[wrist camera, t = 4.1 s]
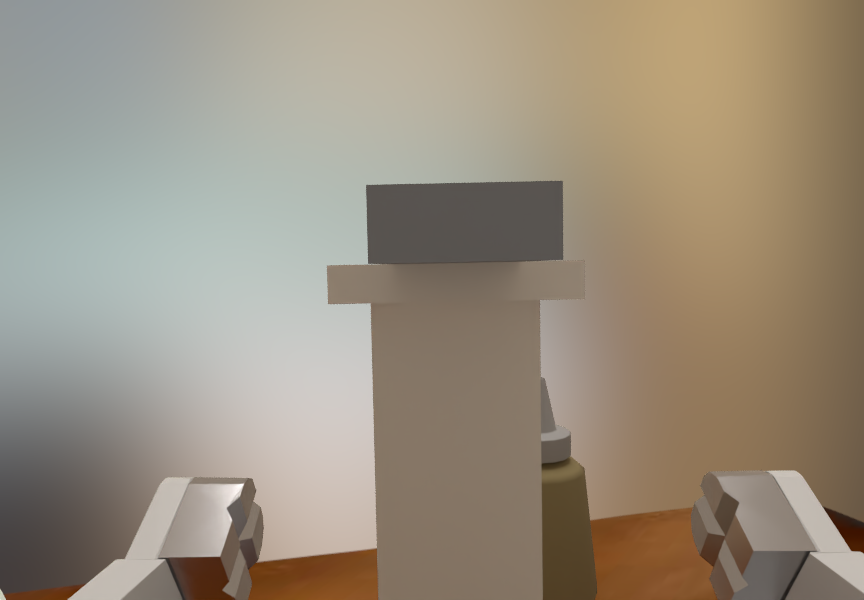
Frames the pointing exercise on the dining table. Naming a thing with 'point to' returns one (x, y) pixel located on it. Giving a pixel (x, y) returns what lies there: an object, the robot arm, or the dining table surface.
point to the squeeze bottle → (564, 515)
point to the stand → (457, 422)
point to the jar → (2, 596)
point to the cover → (465, 222)
